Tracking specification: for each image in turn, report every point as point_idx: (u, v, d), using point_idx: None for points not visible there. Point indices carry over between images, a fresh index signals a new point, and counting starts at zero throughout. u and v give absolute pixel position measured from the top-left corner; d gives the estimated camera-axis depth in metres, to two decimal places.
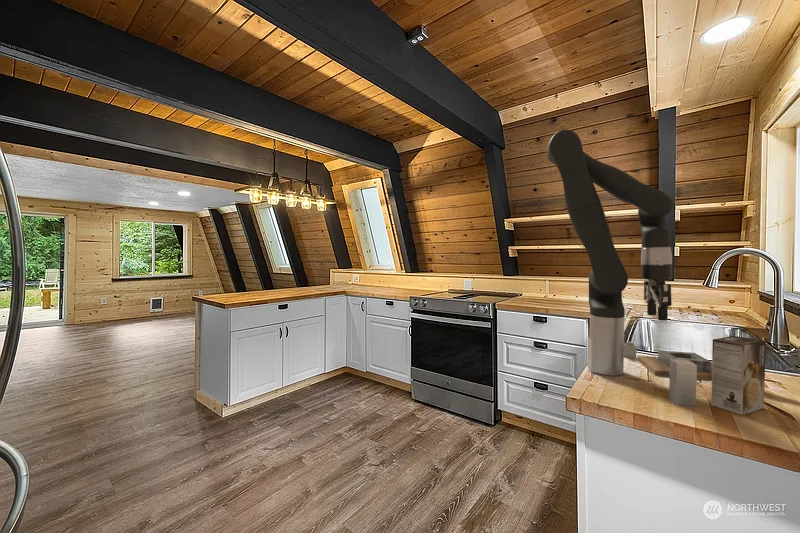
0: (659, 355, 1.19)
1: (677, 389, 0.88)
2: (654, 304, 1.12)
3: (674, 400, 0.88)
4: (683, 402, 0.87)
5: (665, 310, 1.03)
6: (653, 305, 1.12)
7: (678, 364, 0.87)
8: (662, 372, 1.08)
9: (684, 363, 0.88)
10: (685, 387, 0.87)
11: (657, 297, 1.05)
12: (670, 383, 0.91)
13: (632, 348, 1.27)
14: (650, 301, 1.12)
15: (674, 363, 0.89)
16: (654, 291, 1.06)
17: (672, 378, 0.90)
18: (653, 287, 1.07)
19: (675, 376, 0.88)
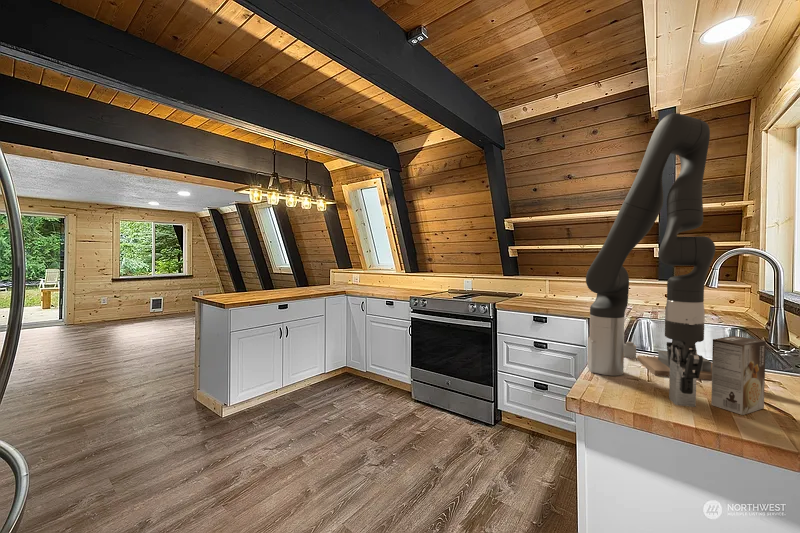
0: (659, 355, 1.19)
1: (677, 389, 0.88)
2: None
3: (674, 400, 0.88)
4: (683, 402, 0.87)
5: (690, 382, 0.86)
6: None
7: None
8: (662, 372, 1.08)
9: (684, 363, 0.88)
10: None
11: (682, 365, 0.86)
12: (670, 383, 0.91)
13: (632, 348, 1.27)
14: None
15: (674, 363, 0.89)
16: (680, 356, 0.87)
17: (672, 378, 0.90)
18: (680, 351, 0.87)
19: (675, 376, 0.88)
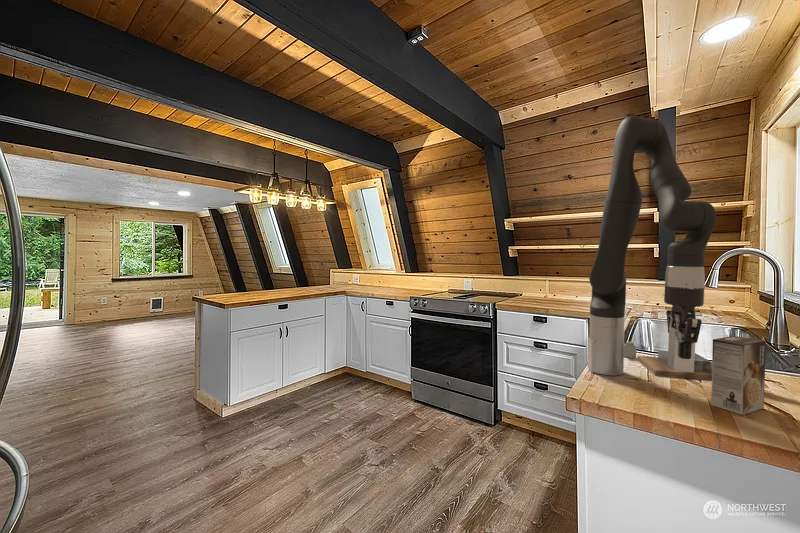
0: (659, 355, 1.19)
1: (675, 355, 0.87)
2: None
3: (673, 366, 0.88)
4: (681, 368, 0.87)
5: (689, 347, 0.85)
6: None
7: None
8: (662, 372, 1.08)
9: None
10: None
11: (681, 330, 0.86)
12: (669, 350, 0.91)
13: (632, 348, 1.27)
14: None
15: (673, 329, 0.89)
16: (679, 322, 0.87)
17: (670, 344, 0.90)
18: (679, 316, 0.87)
19: (674, 341, 0.88)
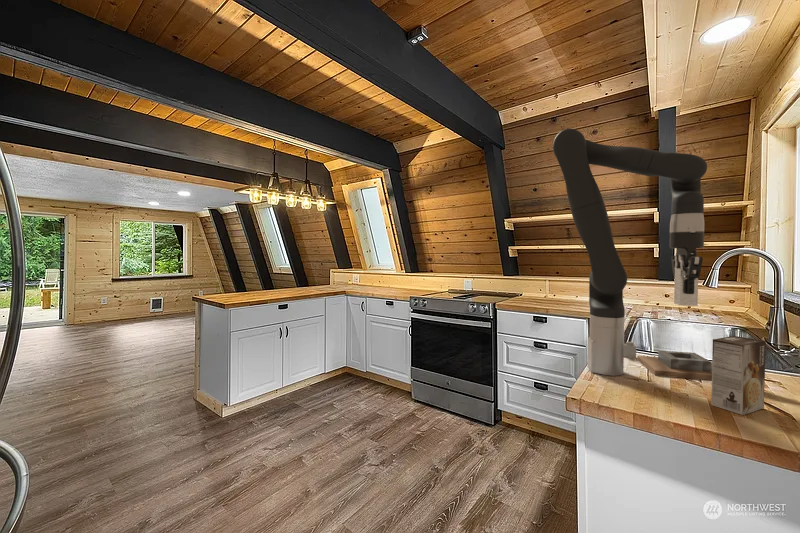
0: (659, 355, 1.19)
1: (681, 291, 1.00)
2: None
3: (679, 301, 1.01)
4: (686, 302, 1.00)
5: (692, 283, 0.98)
6: None
7: None
8: (662, 372, 1.08)
9: None
10: None
11: (685, 269, 0.99)
12: (675, 289, 1.03)
13: (632, 348, 1.27)
14: None
15: (678, 269, 1.01)
16: (683, 262, 1.00)
17: (676, 283, 1.03)
18: (682, 257, 1.00)
19: (679, 280, 1.01)
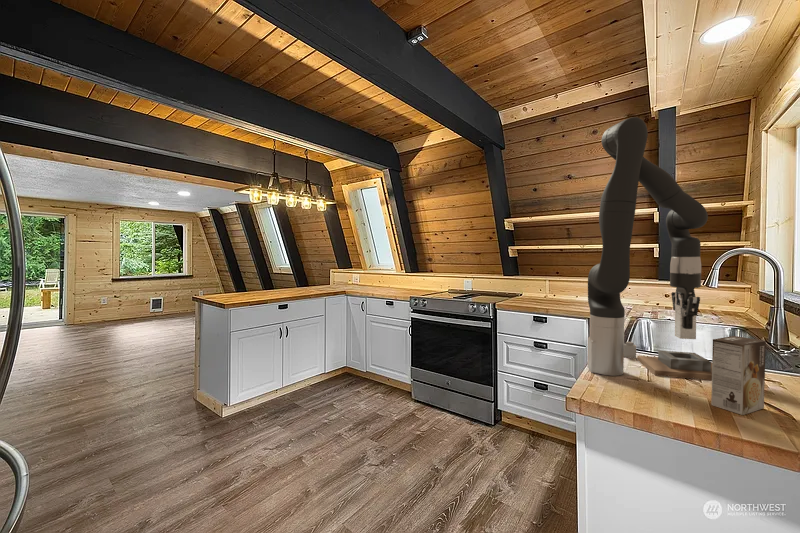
0: (659, 355, 1.19)
1: (681, 326, 1.12)
2: None
3: (679, 335, 1.12)
4: (686, 336, 1.11)
5: (690, 319, 1.10)
6: None
7: None
8: (662, 372, 1.08)
9: (686, 305, 1.12)
10: None
11: (684, 307, 1.10)
12: (675, 323, 1.15)
13: (632, 348, 1.27)
14: None
15: (678, 306, 1.13)
16: (682, 300, 1.11)
17: (677, 318, 1.14)
18: (682, 296, 1.11)
19: (680, 316, 1.12)
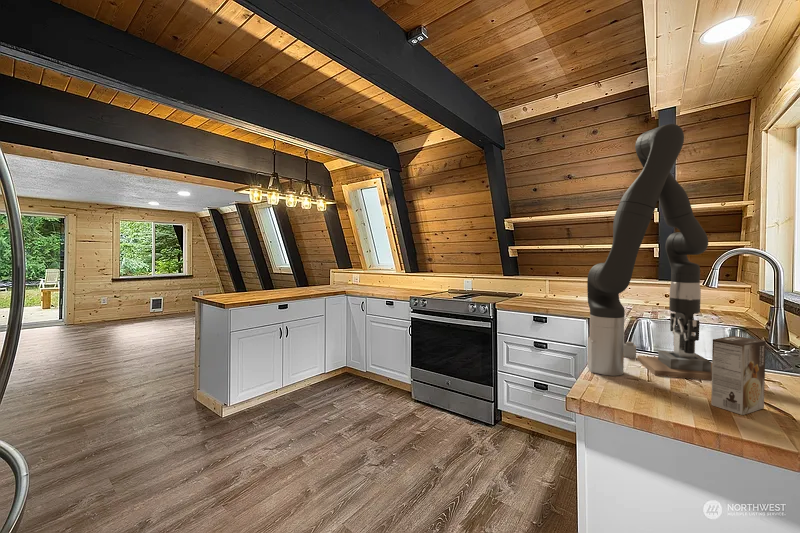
0: (659, 355, 1.19)
1: (680, 354, 1.12)
2: None
3: None
4: None
5: (692, 344, 1.09)
6: None
7: (680, 334, 1.12)
8: (662, 372, 1.08)
9: None
10: None
11: (685, 331, 1.10)
12: (674, 350, 1.15)
13: (632, 348, 1.27)
14: None
15: (677, 334, 1.13)
16: (682, 324, 1.11)
17: (675, 346, 1.14)
18: (681, 320, 1.12)
19: (678, 344, 1.12)
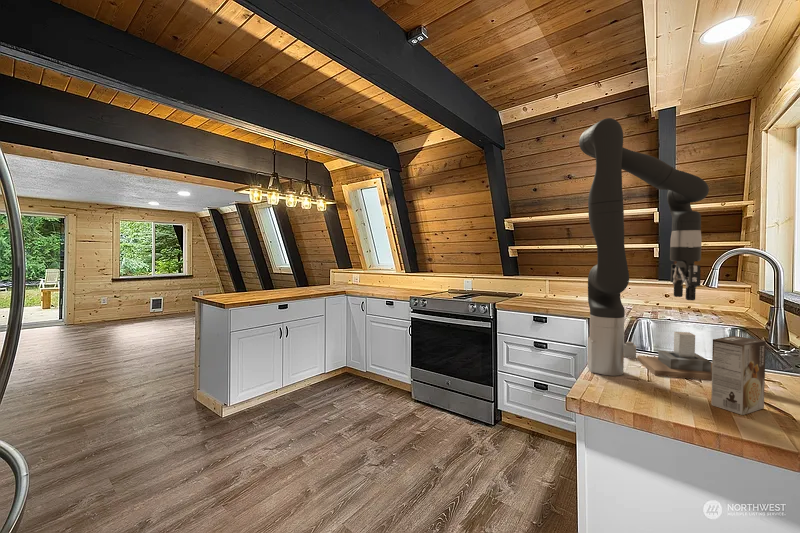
0: (659, 355, 1.19)
1: (680, 354, 1.12)
2: (681, 286, 1.16)
3: None
4: None
5: (693, 290, 1.08)
6: (680, 287, 1.17)
7: (680, 334, 1.12)
8: (662, 372, 1.08)
9: (685, 334, 1.12)
10: (686, 352, 1.11)
11: (686, 278, 1.09)
12: (674, 350, 1.15)
13: (632, 348, 1.27)
14: (677, 283, 1.17)
15: (677, 334, 1.13)
16: (683, 272, 1.11)
17: (675, 346, 1.14)
18: (682, 269, 1.11)
19: (678, 344, 1.12)
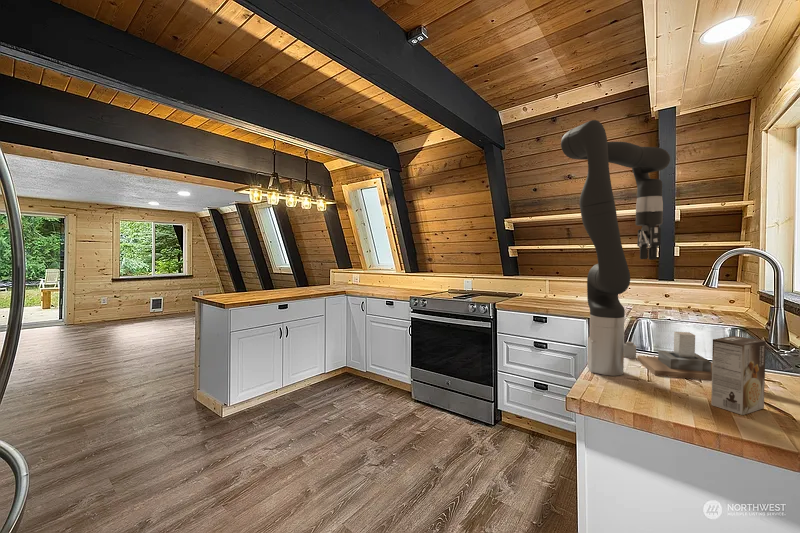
0: (659, 355, 1.19)
1: (680, 354, 1.12)
2: (646, 249, 1.27)
3: None
4: None
5: (655, 250, 1.19)
6: (645, 250, 1.27)
7: (680, 334, 1.12)
8: (662, 372, 1.08)
9: (685, 334, 1.12)
10: (686, 352, 1.11)
11: (648, 239, 1.20)
12: (674, 350, 1.15)
13: (632, 348, 1.27)
14: (642, 246, 1.28)
15: (677, 334, 1.13)
16: (646, 235, 1.21)
17: (675, 346, 1.14)
18: (645, 232, 1.22)
19: (678, 344, 1.12)
